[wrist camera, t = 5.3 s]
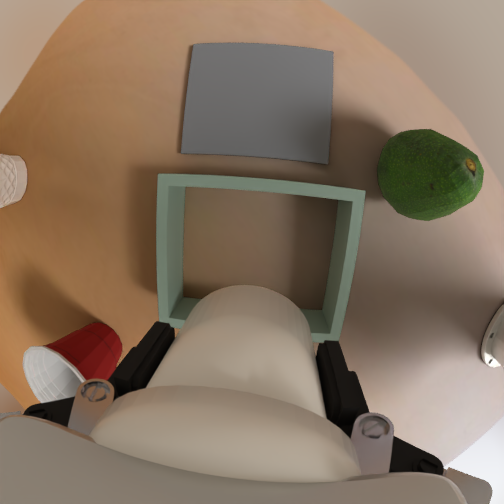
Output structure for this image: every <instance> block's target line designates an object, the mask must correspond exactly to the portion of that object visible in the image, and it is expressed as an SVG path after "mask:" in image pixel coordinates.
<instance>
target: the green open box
mask: <svg viewBox="0 0 504 504" xmlns="http://www.w3.org/2000/svg"><path fill="white" fill-rule="evenodd" d="M185 187H205V188H222V189H237V190H250V191H262V192H274V193H284V194H294V195H304V196H313V197H321V198H330V199H338V200H339V201H338V209H337V218H336V226H335V233H334V240H333V247H332V254H331V261H330V267H329V273H328V280H327V285H326V291H325V297H324V302H323V308H322V310H312V309H300V310H301V312H302V313H303V314H304V316H305V318H306V320H307V322H308V324H309V327H310V331H311V336H312V341H313V342H320V343H324V341H325V340H332V341H338V342H339V338H340V334H341V330H342V326H343V322H344V317H345V313H346V308H347V304H348V299H349V294H350V289H351V284H352V279H353V274H354V268H355V263H356V257H357V251H358V245H359V238H360V231H361V224H362V217H363V209H364V201H365V192H366V191H363V190H358V189H352V188H346V187H338V186H331V185H323V184H314V183H306V182H297V181H287V180H276V179H265V178H253V177H239V176H223V175H203V174H158V184H157V216H156V260H157V291H158V310H159V322H164V323H169V324H170V326H171V327H173V328H179V329H181V328H182V326H183V324H184V323H185V321H186V319H187V318H188V316H189V314H190V313H191V311H192V309H193V308H194V307H195V306H196V304H197V303H198V302H199V301H201V300H202V299H196V298H188V297H183V239H184V207H185Z"/></svg>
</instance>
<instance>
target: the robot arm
mask: <svg viewBox="0 0 504 504" xmlns="http://www.w3.org/2000/svg"><path fill="white" fill-rule="evenodd" d="M174 339H175V331H174V328H173V327H171V326H170V324H169V323H164V322H159V321H156V322H155V323H154V325H153V326H152V327H151V329H150V330H149V331H148V332H147V334H146V335H145V336H144V338H143V339H142V340H141V341H140V343H139V344H138V345H137V347H133V348H132V349H131V350H130V351H129V353H128V354H127V355H126V356H125V358H124V359H123V360H122V362H121V363H120V364H119V365H118V367H117V368H116V369H115V371H114V372H113V373H112V375H111V376H110V377H109V379H108V380H107V381H106V380H104V379H90V380H86V381H85V382H83V383H82V384H80V385H79V387H78V389H77V392H76V395H75V396H74V397H70V398H65V399H60V400H55V401H50V402H45V403H39V404H35V405H32V406H30V407H29V408H27V409H26V411H25V412H24V414H22V413H21V412H20V411H18V412H9V413H0V504H489V503H490V499H491V496H492V488H491V486H490V484H489V483H488V482H486V481H485V480H482V479H479V478H476V477H473V476H471V475H468V474H465V473H463V472H460V471H457V470H455V469H452V468H450V467H449V468H448V469H447V470H446V469H444V468H443V464H442V462H441V461H440V460H439V459H438V458H437V457H435V456H434V455H432V454H430V453H427V452H425V451H423V450H421V449H419V448H417V447H415V446H413V445H411V444H409V443H407V442H405V441H403V440H401V439H399V438H397V437H395V436H394V426H393V424H392V422H391V421H390V420H389V419H388V418H387V417H386V416H384V415H382V414H378V413H370V412H369V409H368V406H367V403H366V400H365V398H364V395H363V392H362V389H361V386H360V383H359V380H358V377H357V374H356V373H355V372H354V371H348V368H347V365H346V362H345V359H344V356H343V353H342V350H341V347H340V344H339V342H338V341H332V340H325V341H324V343H320V344H319V346H318V350H317V355H316V362H317V367H318V372H319V378H320V383H321V388H322V394H323V400H324V406H325V411H326V417H327V420H329V421H330V422H332V423H333V424H335V425H336V426H337V427H339V428H340V429H341V430H342V431H343V432H344V433H345V434H346V435H347V436H348V437H349V438H350V440H351V441H352V443H353V445H354V446H355V450H356V453H357V457H358V462H359V466H360V471H361V475H359V476H350V477H348V478H345V479H343V480H341V481H339V482H318V483H289V482H268V481H255V480H245V479H236V478H228V477H221V476H214V475H208V474H203V473H197V472H192V471H187V470H182V469H178V468H174V467H169V466H165V465H162V464H158V463H154V462H150V461H147V460H143V459H140V458H137V457H133V456H130V455H127V454H124V453H121V452H118V451H115V450H112V449H110V448H107V447H104V446H102V445H99V444H96V442H95V441H94V439H93V438H92V437H90V436H88V435H89V434H90V432H91V431H92V429H93V428H94V426H95V425H96V423H97V422H98V420H99V419H100V417H101V416H102V414H103V413H104V411H105V410H106V409H107V407H108V406H109V405H110V404H111V403H112V402H113V401H115V400H116V399H117V398H119V397H121V396H123V395H125V394H127V393H130V392H133V391H137V390H140V389H144V388H146V387H147V385H148V383H149V382H150V380H151V378H152V377H153V375H154V373H155V371H156V370H157V368H158V366H159V365H160V363H161V361H162V360H163V358H164V356H165V354H166V353H167V351H168V349H169V348H170V346H171V344H172V343H173V341H174ZM481 355H482V359H483V361H484V362H485V363H486V365H487V366H489V367H498V366H502V367H503V368H504V304H503V305H502V306H501V307H500V308H499V310H498V311H497V312H496V314H495V315H494V317H493V319H492V320H491V322H490V324H489V326H488V328H487V330H486V333H485V335H484V339H483V342H482V348H481Z"/></svg>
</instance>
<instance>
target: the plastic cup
mask: <svg viewBox="0 0 504 504" xmlns="http://www.w3.org/2000/svg"><path fill="white" fill-rule="evenodd" d="M121 352H122V343H121V341H120V338H119V336H118V335H117V334H116V333H115V331H114V330H113V329H111V328H110V327H109V326H107V325H106V324H103V323H100V322H98V323H92V324H89V325H87V326H85V327H84V328H82V329H80V330H77V331H75V332H73V333H71V334H69V335H67V336H65V337H63V338H61V339H59V340H57V341H55V342H54V343H52V344H48V345H46V346H45V345H44V346H31V347H30V348H29V349H28V350H27V351H26V352H25V353H24V358H23V368H24V372H25V376H26V379H27V381H28V383H29V385H30V387H31V389H32V391H33V393H34V394H35V396H36V397H37V398H38V400H39V401H40V402H41V403H45V402H50V401H55V400H60V399H65V398H70V397H74V396H75V395H76V392H77V389H78V387H79V385H80V384H82V383H83V382H85V381H86V380H90V379H104V380H106V381H107V380H108V379H109V377H110V376H111V375H112V373H113V372H114V371H115V369H116V365H117V362H118V360H119V358H120V356H121Z"/></svg>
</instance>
